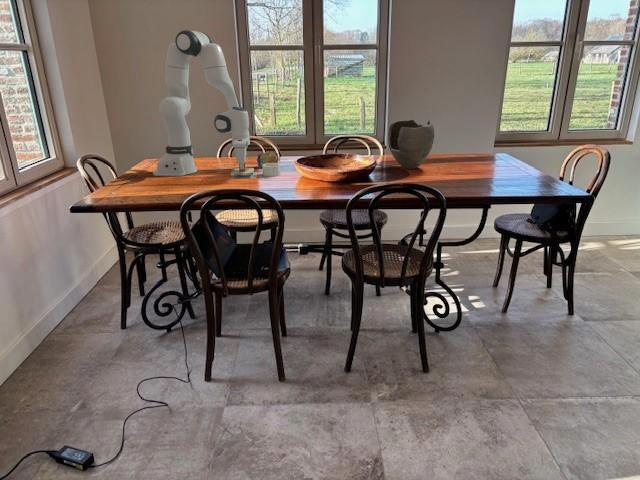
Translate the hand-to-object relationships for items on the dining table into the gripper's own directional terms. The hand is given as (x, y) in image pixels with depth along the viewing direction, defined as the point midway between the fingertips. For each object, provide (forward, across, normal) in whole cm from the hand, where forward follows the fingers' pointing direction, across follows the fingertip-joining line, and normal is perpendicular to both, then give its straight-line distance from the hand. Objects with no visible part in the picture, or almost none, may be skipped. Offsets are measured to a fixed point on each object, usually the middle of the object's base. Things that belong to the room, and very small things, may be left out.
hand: (242, 168), depth 236 cm
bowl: (+4, 0, +15) cm, 15 cm away
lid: (+2, 0, 0) cm, 2 cm away
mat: (+4, 0, +1) cm, 4 cm away
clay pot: (+3, -7, +89) cm, 89 cm away
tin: (+4, -20, +12) cm, 24 cm away
